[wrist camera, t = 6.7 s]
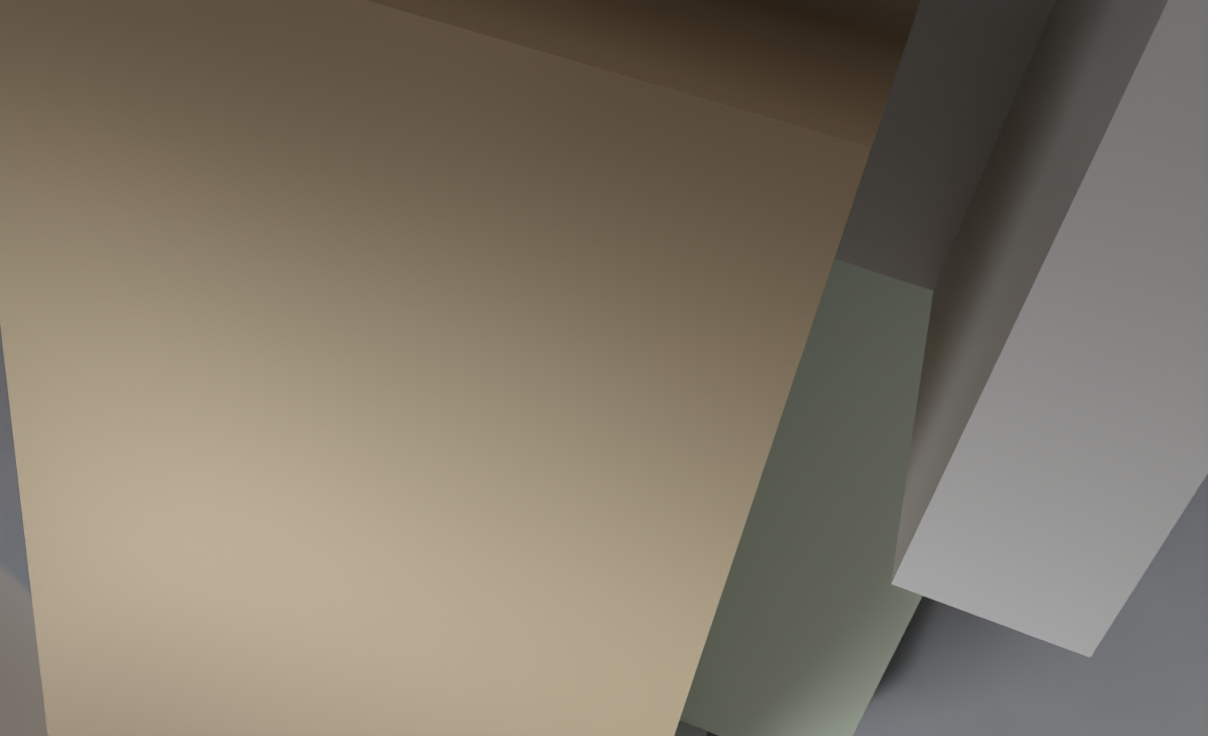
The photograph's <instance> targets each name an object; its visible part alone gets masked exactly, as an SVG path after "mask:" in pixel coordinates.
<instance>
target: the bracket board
mask: <svg viewBox="0 0 1208 736" xmlns="http://www.w3.org/2000/svg"><path fill="white" fill-rule="evenodd" d="M1207 474H1208V0H921V1H920V4H919V7H918V10H917V13H916V16H915V19H914V22H913V25H912V28H911V31H910V34H909V37H908V40H907V43H906V46H905V49H904V52H903V55H902V58H901V61H900V64H899V67H898V70H897V73H896V76H895V79H894V82H893V85H892V88H891V91H890V94H889V97H888V99H887V102H886V105H885V108H884V111H883V114H882V117H881V120H880V123H879V126H878V129H877V132H876V135H875V138H874V141H873V144H872V147H871V150H870V153H869V156H868V159H867V162H866V165H865V168H864V171H863V174H862V177H861V180H860V183H859V186H858V189H857V192H856V195H855V198H854V201H853V204H852V207H851V210H850V213H849V216H848V219H847V222H846V225H845V228H844V231H843V234H842V237H841V240H840V243H839V246H838V249H837V252H836V255H835V258H834V261H833V264H832V267H831V270H830V273H829V276H828V279H827V282H826V284H825V287H824V290H823V293H822V296H821V299H820V302H819V305H818V308H817V311H816V314H815V317H814V320H813V323H812V326H811V329H810V332H809V335H808V338H807V341H806V344H805V347H804V350H803V353H802V356H801V359H800V362H799V365H798V368H797V371H796V374H795V377H794V380H793V383H792V386H791V389H790V392H789V395H788V398H787V401H786V404H785V407H784V410H783V413H782V416H781V419H780V422H779V425H778V428H777V431H776V434H775V437H774V440H773V443H772V446H771V448H770V451H769V454H768V457H767V460H766V463H765V466H764V469H763V472H762V475H761V478H760V481H759V484H758V487H757V490H756V493H755V496H754V499H753V502H752V505H751V508H750V511H749V514H748V517H747V520H746V523H745V526H744V529H743V532H742V535H741V538H740V541H739V544H738V547H737V550H736V553H735V556H734V559H733V562H732V565H731V568H730V571H729V574H728V577H727V580H726V583H725V586H724V589H723V592H722V595H721V598H720V601H719V604H718V607H717V610H716V613H715V615H714V618H713V621H712V624H711V627H710V630H709V633H708V636H707V639H706V642H705V645H704V648H703V651H702V654H701V657H700V660H699V663H698V666H697V669H696V672H695V675H694V678H693V681H692V684H691V687H690V690H689V693H688V696H687V699H686V702H685V705H684V708H683V711H682V714H681V717H680V720H679V723H678V726H677V729H676V732H675V735H674V736H706V735H707V732H711V733H713V734H716V735H718V736H853V734H854V732H855V730H856V728H857V726H858V724H859V722H860V720H861V718H862V716H863V714H864V712H865V710H866V708H867V706H868V704H869V702H870V700H871V698H872V696H873V694H874V692H875V690H876V688H877V686H878V684H879V682H880V680H881V678H882V676H883V674H884V672H885V670H886V668H887V666H888V664H889V662H890V660H891V658H892V656H893V654H894V652H895V650H896V648H897V646H898V644H899V642H900V640H901V638H902V636H903V634H904V632H905V630H906V628H907V626H908V624H909V622H910V620H911V618H912V616H913V614H914V612H915V610H916V608H917V606H918V604H919V602H920V600H921V598H922V596H925V597H928V598H930V599H933V600H936V601H938V602H941V603H944V604H947V605H949V606H952V607H955V608H957V609H960V610H963V611H965V612H968V613H971V614H974V615H976V616H979V617H982V618H984V619H987V620H990V621H993V622H995V623H998V624H1001V625H1003V626H1006V627H1009V628H1011V629H1014V630H1017V631H1020V632H1022V633H1025V634H1028V635H1030V636H1033V637H1036V638H1039V639H1041V640H1044V641H1047V642H1049V643H1052V644H1055V645H1057V646H1060V647H1063V648H1066V649H1068V650H1071V651H1074V652H1076V653H1079V654H1082V655H1085V656H1087V657H1091V656H1092V654H1093V653H1094V651H1095V650H1096V648H1097V646H1098V645H1099V643H1100V642H1101V640H1102V639H1103V637H1104V635H1105V634H1106V632H1107V631H1108V629H1109V628H1110V626H1111V624H1112V623H1113V621H1114V620H1115V618H1116V617H1117V615H1118V613H1119V612H1120V610H1121V609H1122V607H1123V606H1124V604H1125V602H1126V601H1127V599H1128V598H1129V596H1130V595H1131V593H1132V591H1133V590H1134V588H1135V587H1136V585H1137V584H1138V582H1139V581H1140V579H1141V577H1142V576H1143V574H1144V573H1145V571H1146V570H1147V568H1148V566H1149V565H1150V563H1151V562H1152V560H1153V559H1154V557H1155V555H1156V554H1157V552H1158V551H1159V549H1160V548H1161V546H1162V544H1163V543H1164V541H1165V540H1166V538H1167V537H1168V535H1169V533H1170V532H1171V530H1172V529H1173V527H1174V526H1175V524H1176V522H1177V521H1178V519H1179V518H1180V516H1181V515H1182V513H1183V511H1184V510H1185V508H1186V507H1187V505H1188V504H1189V502H1190V500H1191V499H1192V497H1193V496H1194V494H1195V493H1196V491H1197V489H1198V488H1199V486H1200V485H1201V483H1202V482H1203V480H1204V478H1205V477H1206V475H1207Z"/></svg>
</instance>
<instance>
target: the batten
mask: <svg viewBox="0 0 1208 736" xmlns="http://www.w3.org/2000/svg"><path fill="white" fill-rule="evenodd" d="M920 1H921V0H0V325H1V334H2V343H3V351H4V360H5V369H6V377H7V386H8V395H9V403H10V412H11V421H12V429H13V438H14V447H15V455H16V464H17V473H18V481H19V490H20V499H21V507H22V516H23V525H24V533H25V542H26V551H27V559H28V568H29V577H30V585H31V594H32V603H33V611H34V619H35V628H36V636H37V646H38V655H39V662H40V672H41V681H42V689H43V698H44V707H45V715H46V724H47V732H48V736H674V735H675V732H676V729H677V726H678V723H679V720H680V717H681V714H682V711H683V708H684V705H685V702H686V699H687V696H688V693H689V690H690V687H691V684H692V681H693V678H694V675H695V672H696V669H697V666H698V663H699V660H700V657H701V654H702V651H703V648H704V645H705V642H706V639H707V636H708V633H709V630H710V627H711V624H712V621H713V618H714V615H715V613H716V610H717V607H718V604H719V601H720V598H721V595H722V592H723V589H724V586H725V583H726V580H727V577H728V574H729V571H730V568H731V565H732V562H733V559H734V556H735V553H736V550H737V547H738V544H739V541H740V538H741V535H742V532H743V529H744V526H745V523H746V520H747V517H748V514H749V511H750V508H751V505H752V502H753V499H754V496H755V493H756V490H757V487H758V484H759V481H760V478H761V475H762V472H763V469H764V466H765V463H766V460H767V457H768V454H769V451H770V448H771V446H772V443H773V440H774V437H775V434H776V431H777V428H778V425H779V422H780V419H781V416H782V413H783V410H784V407H785V404H786V401H787V398H788V395H789V392H790V389H791V386H792V383H793V380H794V377H795V374H796V371H797V368H798V365H799V362H800V359H801V356H802V353H803V350H804V347H805V344H806V341H807V338H808V335H809V332H810V329H811V326H812V323H813V320H814V317H815V314H816V311H817V308H818V305H819V302H820V299H821V296H822V293H823V290H824V287H825V284H826V282H827V279H828V276H829V273H830V270H831V267H832V264H833V261H834V258H835V255H836V252H837V249H838V246H839V243H840V240H841V237H842V234H843V231H844V228H845V225H846V222H847V219H848V216H849V213H850V210H851V207H852V204H853V201H854V198H855V195H856V192H857V189H858V186H859V183H860V180H861V177H862V174H863V171H864V168H865V165H866V162H867V159H868V156H869V153H870V150H871V147H872V144H873V141H874V138H875V135H876V132H877V129H878V126H879V123H880V120H881V117H882V114H883V111H884V108H885V105H886V102H887V99H888V97H889V94H890V91H891V88H892V85H893V82H894V79H895V76H896V73H897V70H898V67H899V64H900V61H901V58H902V55H903V52H904V49H905V46H906V43H907V40H908V37H909V34H910V31H911V28H912V25H913V22H914V19H915V16H916V13H917V10H918V7H919V4H920Z"/></svg>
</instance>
